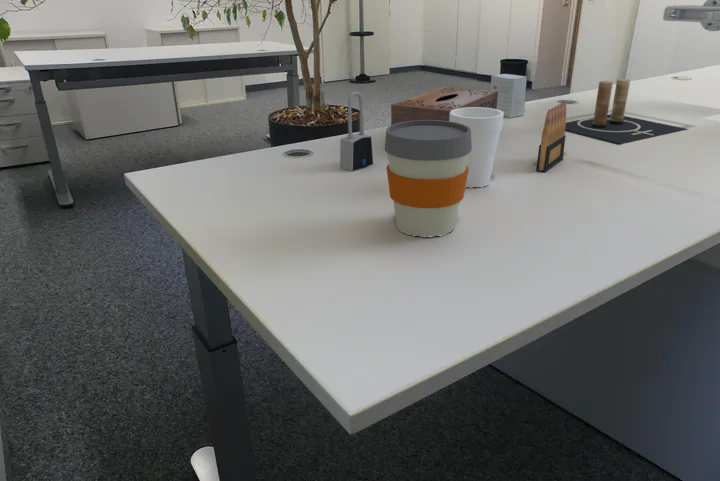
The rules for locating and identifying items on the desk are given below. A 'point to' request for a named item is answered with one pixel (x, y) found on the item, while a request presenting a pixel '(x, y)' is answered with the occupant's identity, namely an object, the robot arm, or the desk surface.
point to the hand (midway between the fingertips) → (686, 15)
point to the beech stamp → (602, 104)
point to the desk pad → (621, 130)
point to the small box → (510, 93)
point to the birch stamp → (619, 101)
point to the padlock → (356, 143)
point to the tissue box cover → (441, 104)
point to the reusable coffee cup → (427, 174)
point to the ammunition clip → (552, 138)
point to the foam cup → (480, 141)
